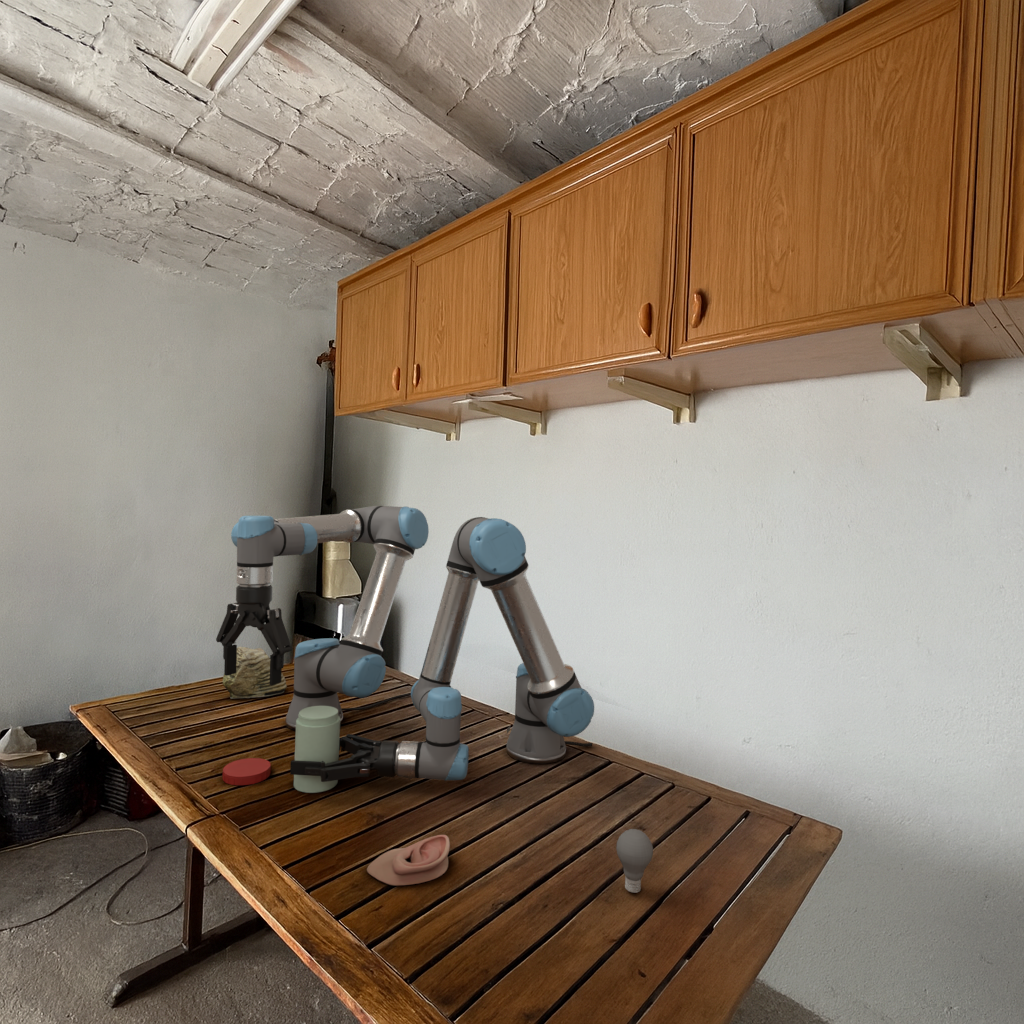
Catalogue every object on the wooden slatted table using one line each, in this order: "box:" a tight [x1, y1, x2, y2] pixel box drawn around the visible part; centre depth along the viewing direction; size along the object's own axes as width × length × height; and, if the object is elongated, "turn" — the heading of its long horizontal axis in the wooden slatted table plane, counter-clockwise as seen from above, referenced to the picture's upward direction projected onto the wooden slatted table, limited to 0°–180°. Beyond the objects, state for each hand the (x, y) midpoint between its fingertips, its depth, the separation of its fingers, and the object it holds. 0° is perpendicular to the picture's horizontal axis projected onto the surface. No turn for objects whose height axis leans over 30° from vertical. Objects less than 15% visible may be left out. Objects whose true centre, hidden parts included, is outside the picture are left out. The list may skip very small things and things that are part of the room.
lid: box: [221, 757, 272, 786], centre depth 142 cm, size 10×10×2 cm
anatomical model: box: [366, 834, 451, 886], centre depth 109 cm, size 13×4×12 cm
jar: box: [293, 706, 341, 794], centre depth 140 cm, size 9×9×16 cm
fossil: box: [222, 646, 288, 699], centre depth 198 cm, size 9×18×15 cm, turn 132°
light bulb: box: [615, 828, 654, 894], centre depth 106 cm, size 6×6×10 cm
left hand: (252, 678), depth 142 cm, fingers open, 13 cm apart
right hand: (301, 754), depth 140 cm, fingers open, 13 cm apart
